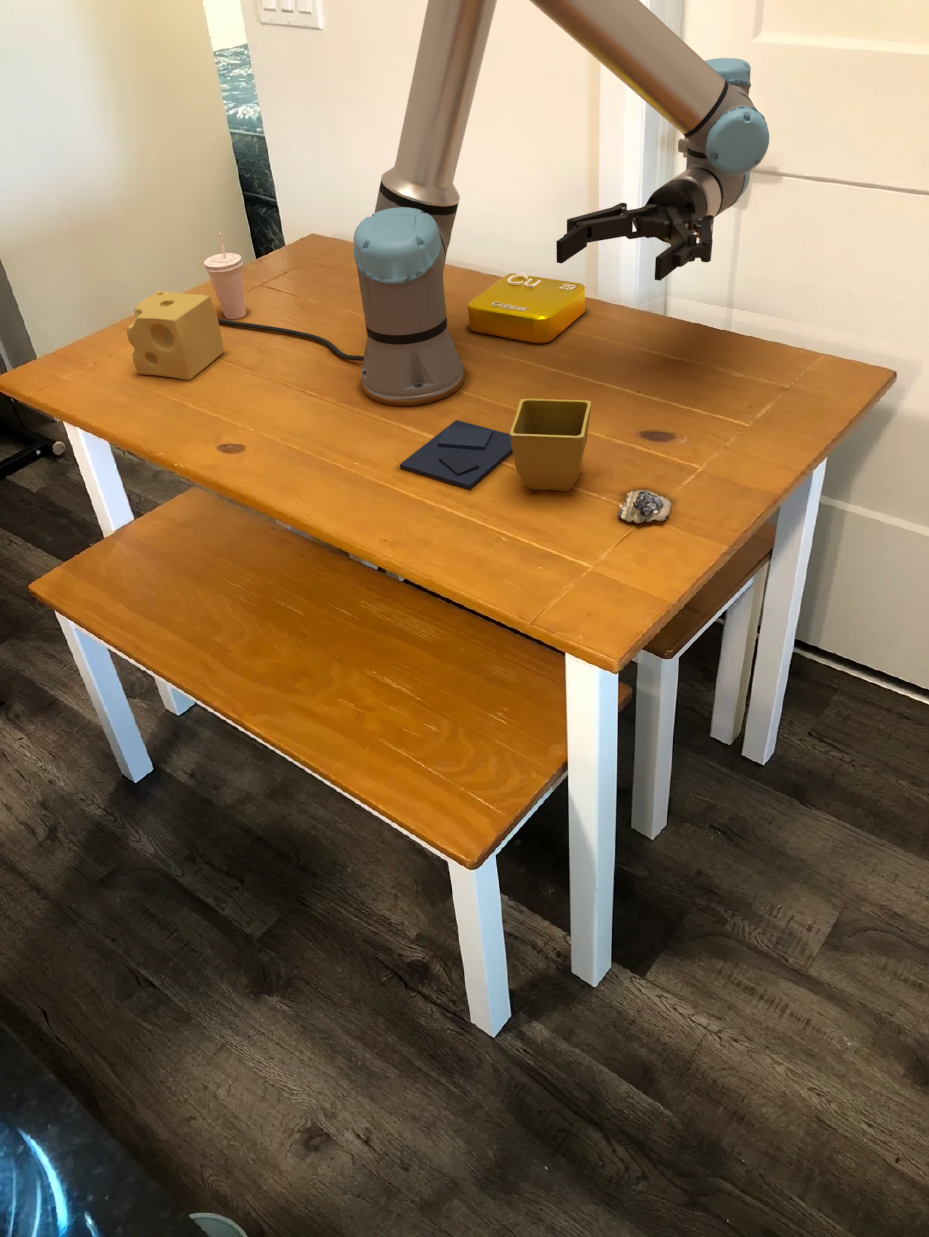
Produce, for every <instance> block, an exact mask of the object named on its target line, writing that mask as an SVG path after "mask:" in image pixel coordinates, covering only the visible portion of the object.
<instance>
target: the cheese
mask: <svg viewBox="0 0 929 1237" xmlns="http://www.w3.org/2000/svg"><path fill="white" fill-rule="evenodd" d="M133 312H134V313H133V314H134V320H133V322H132V324H130V325H129V326H127V327H126V328H127V329H126V334H127V335H126V336H127V339H128V342H129V344H130V345H131V346H132V347H133V349H134V350H133V352H132V354H131V357H132V362H133V365H134V367H135V369H136V371H137V373H138V375H146V376H158V377H166V378H167V377H168V378H172V379H173V378H174V379H179V380H185V381H190V380H193V378H194V377H196V376H197V375H198V374H200V373H201V372H202V371H203V370H204V369H205V368H207V367H208V366H209V365H210V364H212V363H213V362H214V361H215V360H216V359H218V358H219V357H220V356H221V355H223V354H224V344H223V336H222V332H221V327H220V323H219V322H218V318H219V317H218V316H217V315H218V314H217V312H216V309H215V306H214V303H213V300H212V298H211V296H210V295H206V294H200V293H199V294H198V293H197V294H196V293H181V292H170V291H166V290H165V291H164V290H158V291H157V292H155V293H153V294H151V295H149V296H148V297H146V298H145V299H143V300H142V301H141V302H139V303H138V304H137V305H135V307H134V309H133Z"/></svg>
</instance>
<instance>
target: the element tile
mask: <svg viewBox="0 0 929 1237" xmlns="http://www.w3.org/2000/svg"><path fill="white" fill-rule="evenodd" d="M585 311H586V286H585V285H584V284H583V283H580V282H575V281H567V280H561V279H553V278H549V277H548V278H547V277H540V276H535V275H528V274H523V273H522V274H521V273H514V272H513V273H509V274H507V275H504V276H503V277H502V278H499V280H497V281H496V282H495V283H493V284H491V285H490V286H489V287H487V288H486V289H485V290H484V291H482V292H481V293H480V294H478V295H477V296H475V297H474V298H472V299H471V300H470V301H469V302H468V303H467V315H468V328H469V330H470V331H472V332H473V333H478V334H483V335H487V336H494V337H498V338H505V339H509V340H515V341H520V342H526V343H531V344H540V345H541V344H548V343H550V342H552V341H553V340H554V339H555V338H556V337H558V336H559V335H560V334H561V333H563V331H565V330H566V329H567V328H568V327H569V326H571V324H573V323H574V322H575V321H576V320H577V319H579V318H580V317H581V316H582V315H583V314H584V313H585Z"/></svg>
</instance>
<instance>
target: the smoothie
mask: <svg viewBox="0 0 929 1237" xmlns="http://www.w3.org/2000/svg"><path fill="white" fill-rule="evenodd" d="M217 236H218V241H219V244H220V248H221V253H218V254H214V255H211V256H209V257H207V258H206V259H205V260H204V261H203V265H204V270H205V271H206V272H207V274H208V276H209V278H210V281H211V284H212V287H213V289H214V291H215V294H216V297H217V300H218V302H219V305H220V307H221V310H222V313H223V316H224V318H225V319H226V320H238V319H241V318H243V317H245V316H246V315H247V308H246V300H245V299H246V298H245V290H244V288H245V287H244V281H243V270H242V269H243V268H242V265H243V258H242V256H241V255H240V254H238V253H235V252H226V248H225V244H224V239H223V236H222V232H218V233H217Z"/></svg>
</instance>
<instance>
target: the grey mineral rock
mask: <svg viewBox="0 0 929 1237" xmlns="http://www.w3.org/2000/svg"><path fill="white" fill-rule="evenodd" d="M622 502H623V505H622V504H619V505H618V507H619V511H617V514H616V516H617V517H619V518H620V519H622V520H624V521H626V522H628V523H631V522H633V521H634V523H636V524H641V523H643V522H645V521H646V522H647V523H649V522H652V521H653V520H654V521H659V522H660V521H662V522H663V521H664V520H667V518H666V517H668V516H669V514H670V511H671V509H672V502H671V500H670V499H668V498H666V497H665V496H664V495H662V496H661V495H658V494H657V493H654V492H653V491H651V490H647V489H640V490H639V489H636V491H635V490H633V491H632V490H631V491H630V492H628V493H627V494H626V498H625V501H624V500H622Z"/></svg>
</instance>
